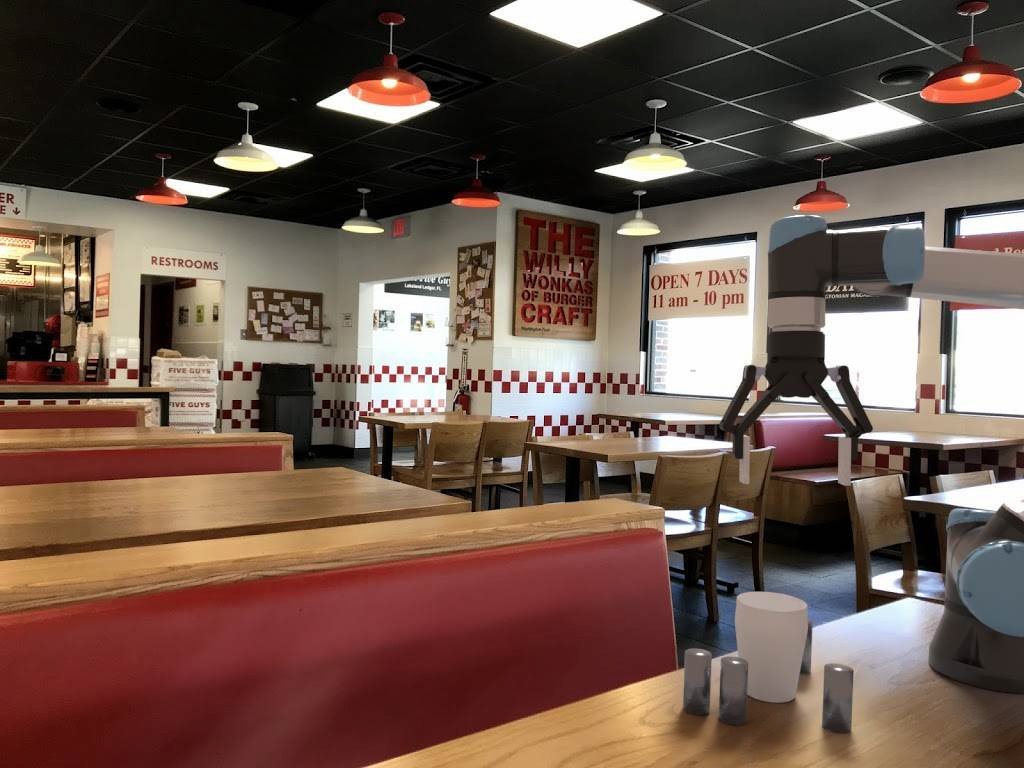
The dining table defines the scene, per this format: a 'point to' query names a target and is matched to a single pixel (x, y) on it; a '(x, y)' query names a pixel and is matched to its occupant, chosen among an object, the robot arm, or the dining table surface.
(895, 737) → the dining table surface
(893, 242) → the robot arm
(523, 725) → the dining table surface
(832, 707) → the posts
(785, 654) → the cup
